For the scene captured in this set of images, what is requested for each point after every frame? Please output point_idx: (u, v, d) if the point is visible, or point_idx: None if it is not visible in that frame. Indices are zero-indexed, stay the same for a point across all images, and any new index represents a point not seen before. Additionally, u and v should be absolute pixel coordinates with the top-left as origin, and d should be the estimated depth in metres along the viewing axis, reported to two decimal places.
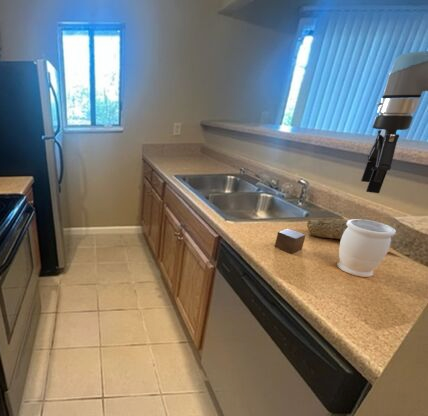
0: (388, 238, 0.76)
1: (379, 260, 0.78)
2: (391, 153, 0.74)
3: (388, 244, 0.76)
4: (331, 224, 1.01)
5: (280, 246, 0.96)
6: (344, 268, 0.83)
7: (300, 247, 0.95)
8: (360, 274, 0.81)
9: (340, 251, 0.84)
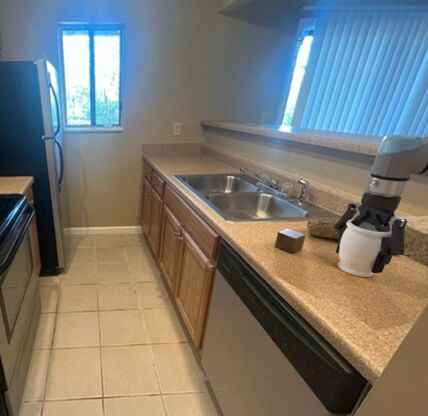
0: None
1: None
2: (402, 238, 0.72)
3: None
4: (331, 224, 1.01)
5: (280, 246, 0.96)
6: (344, 268, 0.83)
7: (300, 247, 0.95)
8: (360, 274, 0.81)
9: (340, 251, 0.84)
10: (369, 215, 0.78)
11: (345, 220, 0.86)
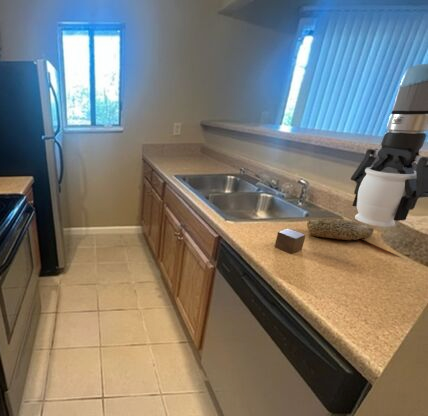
0: None
1: None
2: None
3: None
4: (331, 224, 1.01)
5: (280, 246, 0.96)
6: (363, 219, 0.77)
7: (300, 247, 0.95)
8: (381, 224, 0.75)
9: (358, 201, 0.78)
10: (390, 158, 0.72)
11: (363, 169, 0.80)
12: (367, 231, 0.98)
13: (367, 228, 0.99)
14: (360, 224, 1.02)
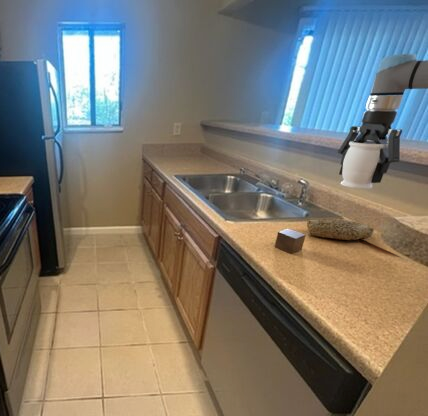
0: None
1: None
2: (398, 147, 0.83)
3: None
4: (331, 224, 1.01)
5: (280, 246, 0.96)
6: (347, 184, 0.94)
7: (300, 247, 0.95)
8: (361, 186, 0.92)
9: (343, 169, 0.95)
10: (369, 132, 0.89)
11: (347, 143, 0.97)
12: (367, 231, 0.98)
13: (367, 228, 0.99)
14: (360, 224, 1.02)
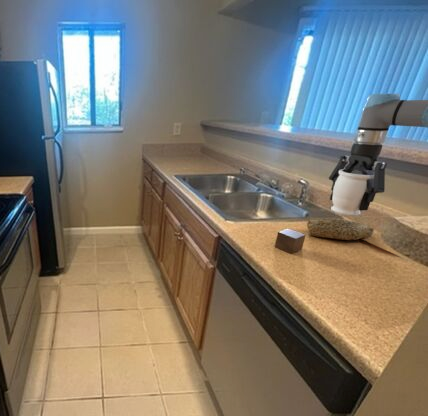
0: None
1: None
2: (383, 178, 0.89)
3: None
4: (331, 224, 1.01)
5: (280, 246, 0.96)
6: (336, 210, 1.00)
7: (300, 247, 0.95)
8: (349, 213, 0.97)
9: (333, 196, 1.01)
10: (357, 163, 0.95)
11: (338, 171, 1.02)
12: (367, 231, 0.98)
13: (367, 228, 0.99)
14: (360, 224, 1.02)
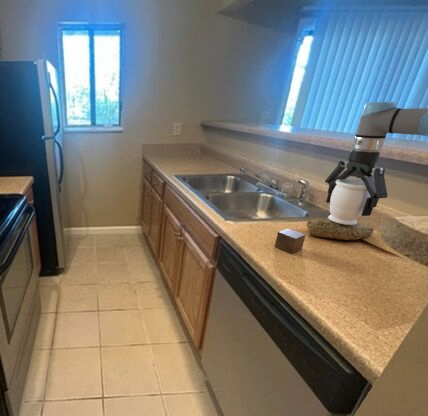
0: None
1: (361, 210, 0.96)
2: (384, 184, 0.89)
3: (368, 196, 0.94)
4: (331, 224, 1.01)
5: (280, 246, 0.96)
6: (333, 219, 1.01)
7: (300, 247, 0.95)
8: (346, 222, 0.99)
9: (330, 205, 1.02)
10: (355, 170, 0.96)
11: (334, 175, 1.04)
12: (367, 231, 0.98)
13: (367, 228, 0.99)
14: (360, 224, 1.02)
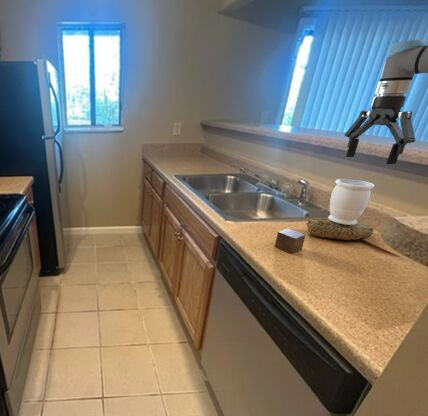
0: (368, 191, 0.94)
1: (361, 210, 0.96)
2: (411, 127, 0.85)
3: (368, 196, 0.94)
4: (331, 224, 1.01)
5: (280, 246, 0.96)
6: (333, 219, 1.01)
7: (300, 247, 0.95)
8: (346, 222, 0.99)
9: (330, 205, 1.02)
10: (378, 117, 0.92)
11: (355, 127, 1.00)
12: (367, 231, 0.98)
13: (367, 228, 0.99)
14: (360, 224, 1.02)
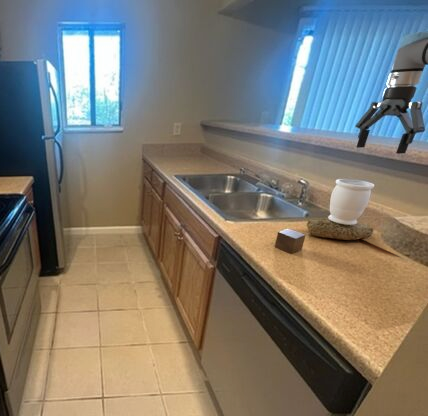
0: (368, 191, 0.94)
1: (361, 210, 0.96)
2: (421, 117, 0.88)
3: (368, 196, 0.94)
4: (331, 224, 1.01)
5: (280, 246, 0.96)
6: (333, 219, 1.01)
7: (300, 247, 0.95)
8: (346, 222, 0.99)
9: (330, 205, 1.02)
10: (389, 108, 0.95)
11: (366, 118, 1.02)
12: (367, 231, 0.98)
13: (367, 228, 0.99)
14: (360, 224, 1.02)
